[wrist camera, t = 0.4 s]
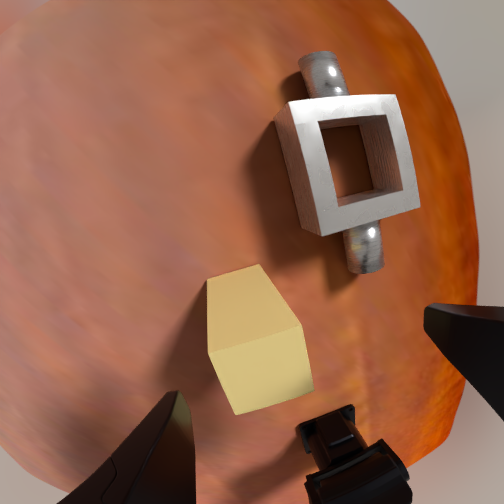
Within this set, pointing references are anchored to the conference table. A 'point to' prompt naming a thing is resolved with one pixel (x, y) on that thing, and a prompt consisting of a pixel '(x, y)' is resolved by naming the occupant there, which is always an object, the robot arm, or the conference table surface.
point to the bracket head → (317, 167)
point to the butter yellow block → (255, 341)
